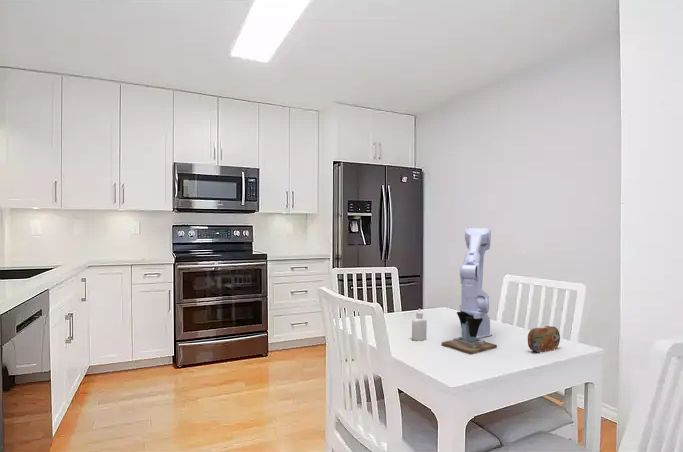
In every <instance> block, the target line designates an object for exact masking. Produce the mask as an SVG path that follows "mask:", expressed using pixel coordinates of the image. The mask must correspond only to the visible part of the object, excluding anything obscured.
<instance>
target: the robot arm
mask: <svg viewBox="0 0 683 452" xmlns="http://www.w3.org/2000/svg"><path fill="white" fill-rule="evenodd" d="M491 231H492V230H491V228H490V227H487V228H483V227H480V228H479V227H478V228H477V227H475V228H473V227H471V228H470V227H466V229H465V230H464V241H465V245H466V248H467V249H468V251H466V252H465V254H464V258H463V263H462V265H460V267H459V278H460V285H461V296H460V297H461V304H460V305H459V311H457V312H456V315H457V316H458V318H459V323H460V327H461V329H462V323H466V321H467V322H468V326H469V334H470V337H476V336H477V339H482V338H486V337H491V336H492V333H491V318H490V316H489V315H488V313H489V312H490V311H489V310H490V296H489V295H488V293H487V292H486V291H485V290H484V289H483V277H484V258H485V257H484V256H485V254H486V251H488V250H490V248H491V238H492V232H491Z"/></svg>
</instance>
